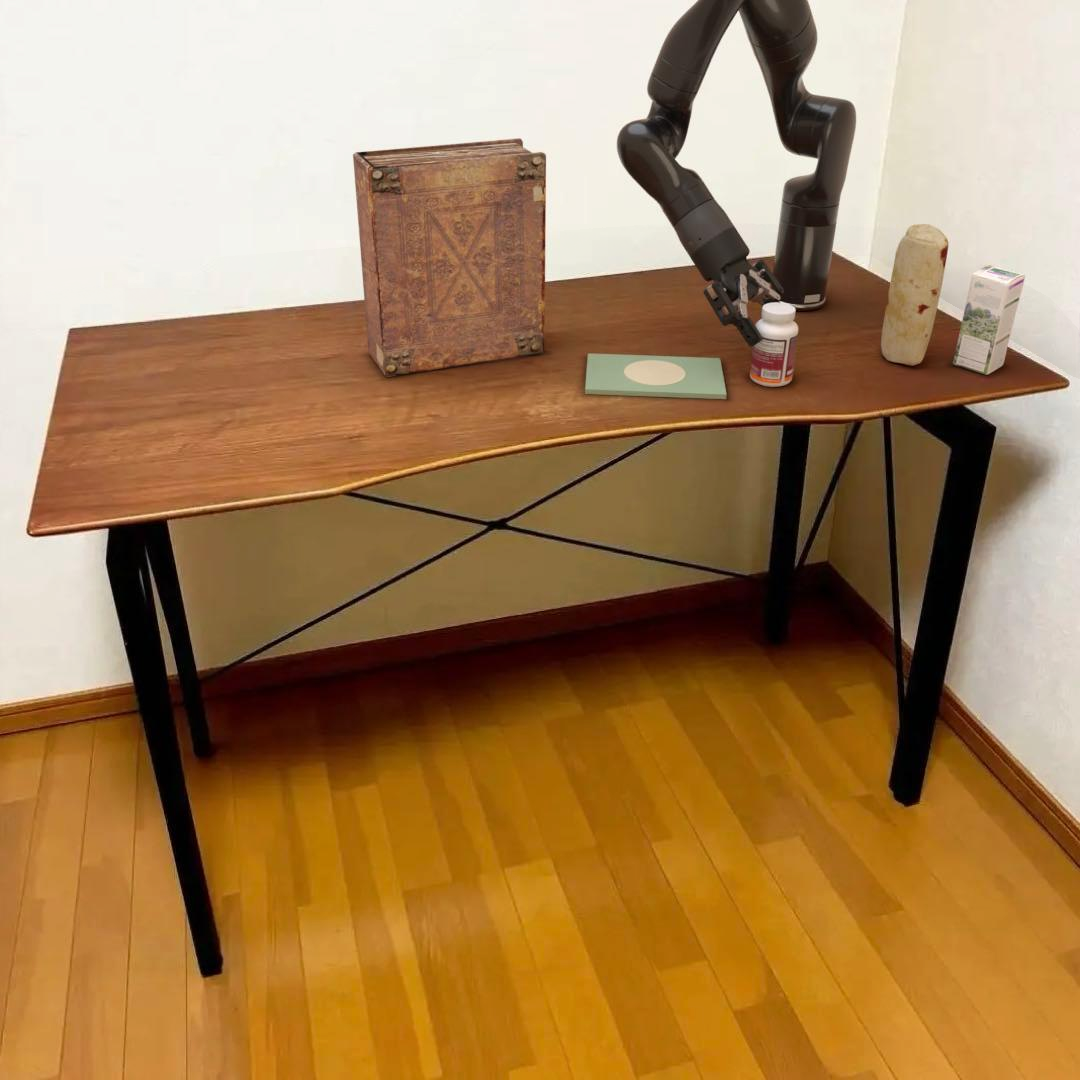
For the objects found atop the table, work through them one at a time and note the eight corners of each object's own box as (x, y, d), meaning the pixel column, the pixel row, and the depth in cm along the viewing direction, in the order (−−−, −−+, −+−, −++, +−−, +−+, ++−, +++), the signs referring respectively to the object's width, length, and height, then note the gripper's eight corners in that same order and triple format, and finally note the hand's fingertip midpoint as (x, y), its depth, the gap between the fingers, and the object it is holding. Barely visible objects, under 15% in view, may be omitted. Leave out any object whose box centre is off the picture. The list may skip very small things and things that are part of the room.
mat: (587, 358, 170) (587, 352, 169) (719, 362, 169) (720, 357, 168) (584, 394, 159) (585, 388, 158) (726, 399, 158) (726, 393, 157)
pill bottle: (775, 368, 167) (784, 297, 162) (800, 383, 163) (811, 311, 157) (740, 375, 165) (748, 303, 159) (765, 391, 160) (774, 318, 155)
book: (522, 332, 178) (523, 137, 162) (544, 354, 171) (548, 152, 155) (367, 355, 170) (352, 151, 154) (384, 378, 163) (370, 167, 147)
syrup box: (1004, 365, 169) (1027, 272, 161) (986, 376, 166) (1009, 282, 158) (968, 354, 173) (990, 263, 165) (950, 365, 169) (971, 272, 161)
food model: (936, 369, 168) (964, 237, 157) (894, 371, 167) (920, 239, 156) (907, 344, 176) (933, 217, 165) (867, 346, 175) (890, 219, 164)
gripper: (702, 236, 153) (766, 336, 153) (754, 214, 162) (814, 308, 162) (666, 266, 159) (728, 362, 159) (719, 243, 168) (777, 334, 168)
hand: (772, 335), depth 161 cm, fingers open, 8 cm apart
